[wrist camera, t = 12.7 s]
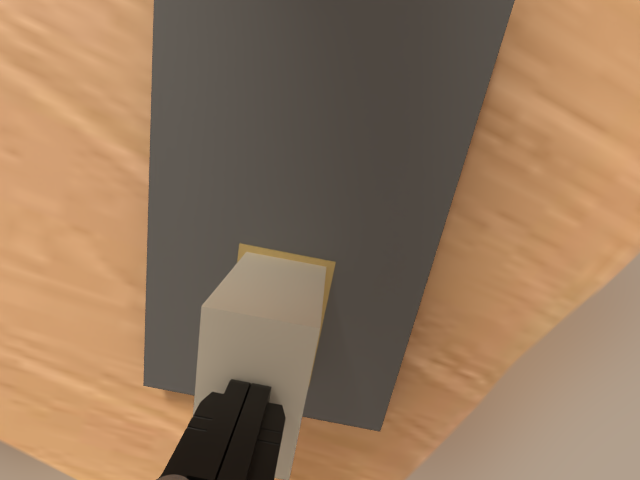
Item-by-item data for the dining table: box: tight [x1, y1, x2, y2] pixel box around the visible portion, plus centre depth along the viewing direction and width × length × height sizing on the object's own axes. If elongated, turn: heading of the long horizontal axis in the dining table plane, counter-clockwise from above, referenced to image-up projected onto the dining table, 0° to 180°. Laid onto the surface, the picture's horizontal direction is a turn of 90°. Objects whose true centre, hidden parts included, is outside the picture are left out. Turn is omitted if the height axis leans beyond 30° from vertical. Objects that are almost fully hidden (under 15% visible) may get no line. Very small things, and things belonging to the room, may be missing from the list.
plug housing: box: [193, 252, 326, 480], centre depth 14 cm, size 7×4×6 cm, turn 170°
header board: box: [144, 0, 515, 431], centre depth 14 cm, size 22×14×6 cm, turn 169°
